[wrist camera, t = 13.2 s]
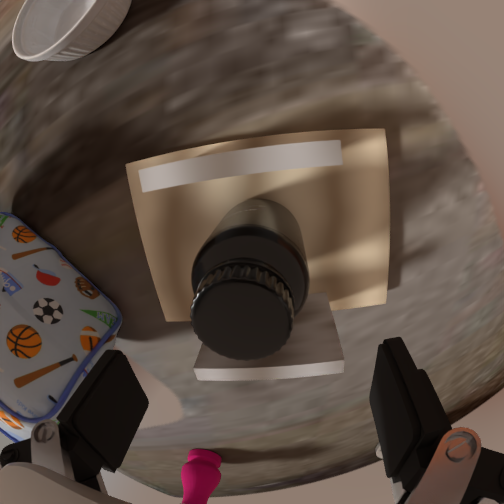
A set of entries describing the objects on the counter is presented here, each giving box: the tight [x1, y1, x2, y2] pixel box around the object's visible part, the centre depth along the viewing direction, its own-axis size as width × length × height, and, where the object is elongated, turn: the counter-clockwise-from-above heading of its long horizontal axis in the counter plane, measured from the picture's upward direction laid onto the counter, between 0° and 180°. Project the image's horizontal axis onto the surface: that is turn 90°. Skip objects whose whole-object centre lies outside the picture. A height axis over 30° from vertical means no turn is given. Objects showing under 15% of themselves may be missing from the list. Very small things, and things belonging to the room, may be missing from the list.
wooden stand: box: [125, 129, 390, 381], centre depth 20 cm, size 22×16×11 cm
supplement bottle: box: [190, 199, 310, 361], centre depth 18 cm, size 7×7×12 cm
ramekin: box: [12, 0, 132, 61], centre depth 15 cm, size 13×13×7 cm
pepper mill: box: [181, 449, 222, 504], centre depth 33 cm, size 7×7×20 cm
